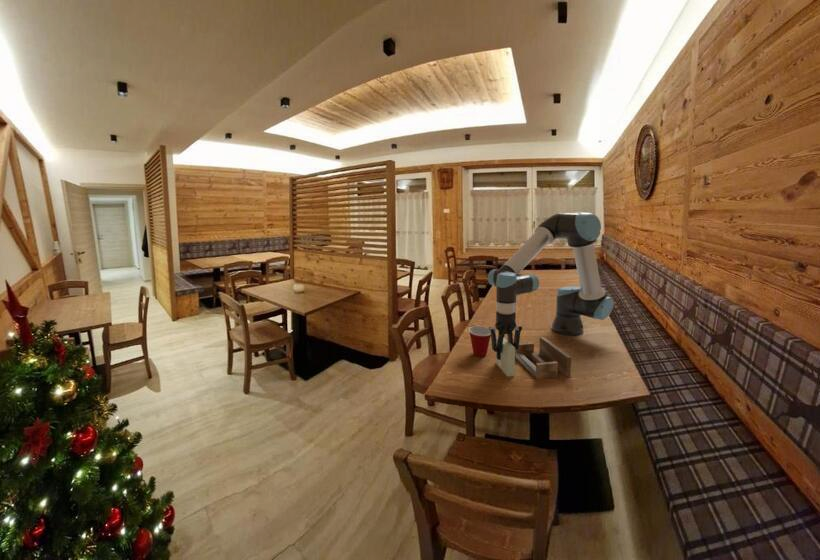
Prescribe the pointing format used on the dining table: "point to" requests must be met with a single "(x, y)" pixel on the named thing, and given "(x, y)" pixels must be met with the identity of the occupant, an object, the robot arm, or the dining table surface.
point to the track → (543, 369)
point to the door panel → (507, 358)
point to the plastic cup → (480, 340)
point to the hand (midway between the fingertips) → (504, 365)
